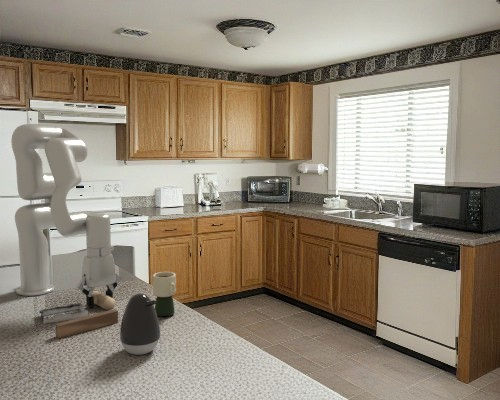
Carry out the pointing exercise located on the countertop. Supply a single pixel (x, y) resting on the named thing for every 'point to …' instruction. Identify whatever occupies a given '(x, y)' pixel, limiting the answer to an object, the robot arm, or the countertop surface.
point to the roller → (103, 300)
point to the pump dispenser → (139, 325)
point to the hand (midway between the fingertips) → (99, 304)
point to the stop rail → (86, 323)
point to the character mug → (164, 292)
